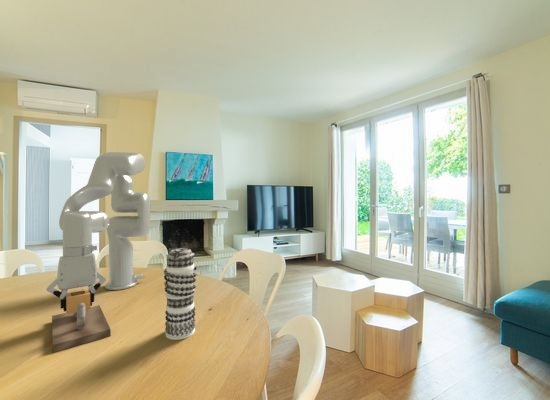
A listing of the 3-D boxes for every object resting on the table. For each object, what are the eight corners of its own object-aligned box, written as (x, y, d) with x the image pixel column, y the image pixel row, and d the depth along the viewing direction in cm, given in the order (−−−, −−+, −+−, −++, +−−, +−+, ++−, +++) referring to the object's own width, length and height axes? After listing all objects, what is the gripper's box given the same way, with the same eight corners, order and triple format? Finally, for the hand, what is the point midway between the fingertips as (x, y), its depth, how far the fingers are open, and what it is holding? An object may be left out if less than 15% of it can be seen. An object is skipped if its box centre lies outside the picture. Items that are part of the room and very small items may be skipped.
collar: (88, 303, 90) (88, 288, 90) (90, 309, 86) (90, 293, 86) (65, 308, 86) (65, 292, 86) (66, 314, 82) (66, 298, 82)
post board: (99, 310, 95) (99, 284, 95) (110, 335, 78) (110, 303, 78) (51, 321, 87) (51, 292, 87) (52, 352, 70) (52, 316, 70)
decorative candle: (171, 324, 85) (171, 246, 85) (200, 325, 85) (200, 246, 85) (158, 340, 76) (157, 252, 76) (190, 340, 76) (190, 253, 76)
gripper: (107, 246, 94) (107, 297, 95) (42, 253, 83) (42, 310, 83) (110, 249, 89) (111, 304, 89) (41, 257, 78) (42, 319, 78)
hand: (77, 306), depth 86 cm, fingers closed on collar, 5 cm apart
